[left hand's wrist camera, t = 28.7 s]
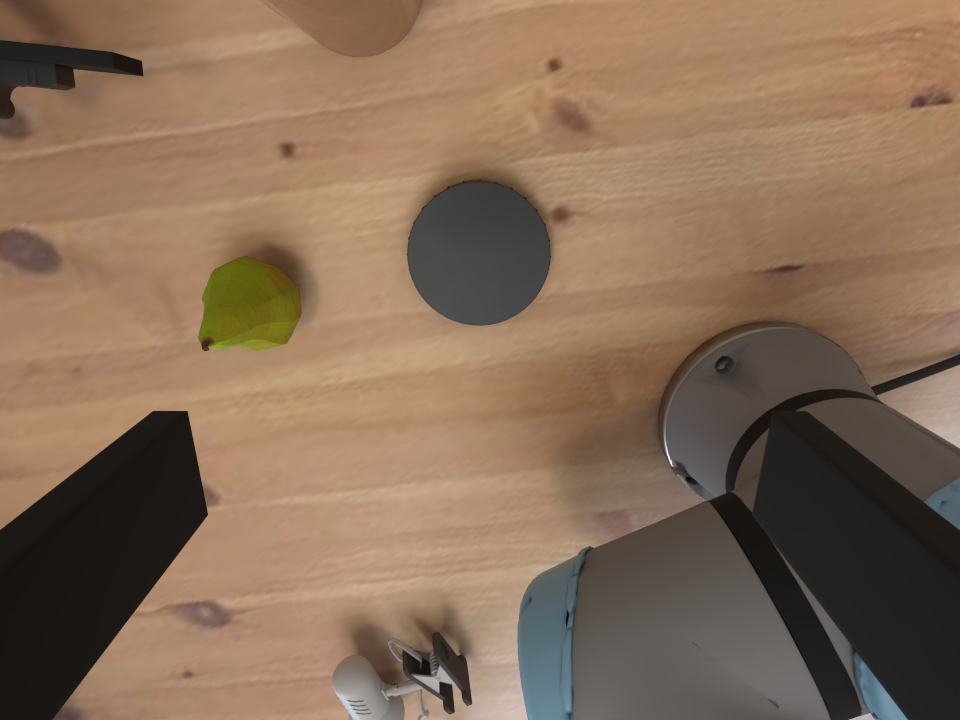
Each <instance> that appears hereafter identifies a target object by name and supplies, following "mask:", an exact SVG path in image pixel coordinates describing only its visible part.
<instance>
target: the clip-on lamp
mask: <svg viewBox="0 0 960 720" xmlns="http://www.w3.org/2000/svg"><path fill="white" fill-rule="evenodd" d="M432 638H433V649H432V650H425V649H417V648H411V647H409V646H407V645H406V644H404V643H403V642H401V641H399V640H397V639H395V638H391V639H390V640H389V641H388V645H389V648H390V650H391V652H392V653H393V655H394V656H395V657H396V659H397V660H399V661H400V662H402V663H403V671H404V673H405V675H406V676H407V677H408V678H409V679H411V680H409V681H405V682H401V683H398V684H394V685H390V684H386V683H384V682H383V681H381V679H380V678H379V676H378V674H377V673H376V671H375V670H374V668H373V667H372V665H371V664H370V662H369V661H368V660H367V659H366V658H364V657H363V656H359V655H354V656H349V657H347V658H345V659H344V660H342V661H341V662H340V663H339V665H338V666H337V667H336V669H335V671H334V673H333V678H332V688H333V690H334V691H335V693H336V694H337V696H338V697H339V699H340V700H341V702H342V703H343V705H344V706H345V708H346V709H347V711H348V712H349V720H404V714H405V709H404V703H403V699H402V697H401V696H400V695H402V694H405V693H409V692H413V691H416V690H418V691H419V707H420V712H421V715H420V716H419V717H418V720H422V719H423V718H425V717H428V716H429V711H428V710H427V711H425V710H424V708H423V704H422V689H426V690H428V691H429V692H431V693H432V694H434V695H435V696H437V697H438V698H440V699H441V700H443V707H444V710H445V711H446V712H447V713H448V714H453V713H454V712H455V710H454V700H453V690H452V685H456V686H457V687H458V688H459V689H460V690H461V692H462V699H463V702H464V703H465V704H466V705H467V706H469V705H471V704H472V699H471V691H470V683H469V675H468V667H467V661H466V659H465V657H464V656H463V655H459V656H457V655H456V654H455V652H454V651H453V650H452V648H451V647H450V646H449V645H448V643H447V642H446V641H445V639H444V638H443V637H442V636H441V634H440V633H439V632H435V633H433V637H432ZM393 644H395V645H397V646H399V647H400V648H402V649H403V652H402V654H403V656H401V655H400V654H399V653H398V652H397V650H396V649H395V647H394V645H393Z"/></svg>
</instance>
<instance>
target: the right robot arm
mask: <svg viewBox="0 0 960 720" xmlns="http://www.w3.org/2000/svg"><path fill="white" fill-rule="evenodd" d="M73 69H79V70H88V71H98V72H108V73H117V74H127V75H137V76H143V68H142V61H140V60H137V59H133V58H130V57H127V56H123V55H120V54H117V53H113V52H107V51H97V50H88V49H78V48H69V47H59V46H50V45H40V44H31V43H21V42H12V41H2V40H0V118H1V119H10V118H11V117H13V115H14V114H15V108H14V105H13V103H12V102H11V100H10V97H11V93H12V91H13V89H14V88H16V87H18V86H20V87H26V86H29V87H39V88H49V89H59V90H69V89H72V88H75V80H74V73H73Z"/></svg>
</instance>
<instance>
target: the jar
mask: <svg viewBox="0 0 960 720" xmlns="http://www.w3.org/2000/svg"><path fill="white" fill-rule="evenodd" d="M260 1H261V2H262V3H264V4H265V5H267V6H268V7H269V8H271V9H272V10H274V11H275V12H277V13H278V14H279V15H281V16H282V17H284V18H285V19H286V20H288V21H289V22H291V23H292V24H293V25H295V26H296V27H298V28H299V29H300V30H302V31H303V32H305V33H306V34H307V35H309V36H310V37H312V38H313V39H314V40H316V41H317V42H319V43H320V44H322V45H323V46H325V47H326V48H328V49H330V50H332V51H334V52H336V53H339V54H343V55H346V56H352V57H366V56H373V55H376V54H380V53H382V52H384V51H386V50H388V49H390V48H391V47H393V46H394V45H396V44H397V43H398V42H399V41H400V40H402V39H403V37H404V36H405V35H406V34H407V33H408V32H409V30H410V29H411V27H412V26H413V24H414V22H415V20H416V18H417V16H418V13H419V10H420V7H421V4H422V0H260Z"/></svg>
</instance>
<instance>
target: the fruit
mask: <svg viewBox="0 0 960 720" xmlns="http://www.w3.org/2000/svg"><path fill="white" fill-rule="evenodd" d="M202 300H203V304H204V315H203V320H202V324H201V328H200V332H199V336H198V338H199V341H200V343H201V345H202V349H203V350H204V351H208V350H209V348H208V347H211V348H217V349H226V348H230V347H233V346H239V347H243V348H247V349H251V350H255V351H260V350H264V349H268V348H271V347H275V346H279V345H282V344H286V343H287V342H288V341H289V339H290V338H291V335H292V333H293V331H294V329H295V327H296V325H297V323H298V320H299V318H300V316H301V306H300V298H299V290H298V286H297V285H295V284H294V283H293V282H292V281H291V280H290V279H289V278H288V277H287V276H286V275H285V274H284V273H283V272H282V271H281V270H280V269H279V268H278V267H275V266H273V265H270V264H267V263H264V262H261V261H258V260H255V259H252V258H249V257H239V258H237V259H235V260H233V261H231V262H229V263H227V264H225V265H223V266H221V267H219V268H217V269H215V270H214V271H213V272H212V274H211V276H210V278H209V281H208V283H207V286H206V288H205V291H204V293H203V296H202Z"/></svg>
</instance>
